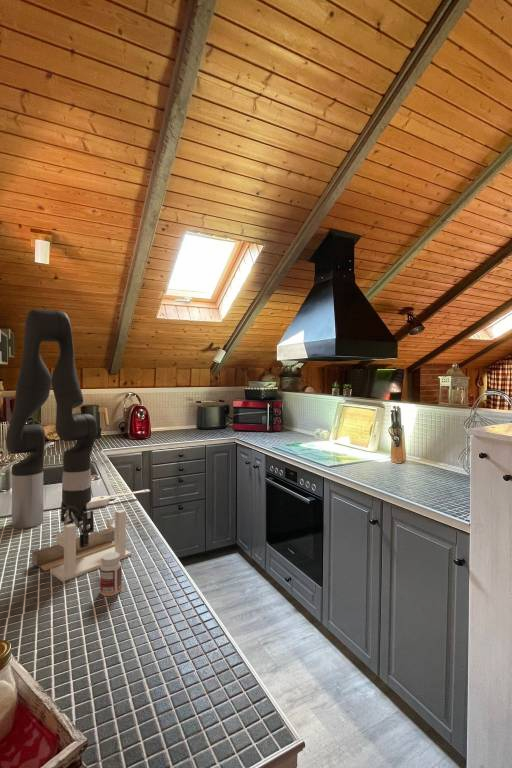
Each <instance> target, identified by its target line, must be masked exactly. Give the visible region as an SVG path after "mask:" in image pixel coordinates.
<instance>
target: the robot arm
mask: <svg viewBox="0 0 512 768" xmlns="http://www.w3.org/2000/svg"><path fill="white" fill-rule="evenodd" d="M23 333H24V334H23V345H22V346H23V347H22V357H21V363H20V369H19V374H18V378H17V383H16V389H15V396H14V401H13V402H14V403H13V409H12V414H11V417H10V420H9V424H8V428H7V432H6V435H5V436H6V437H5V447H6V450H7V452H8V453H10V454H13V455H15V454H17V455H18V454H19V455H20V454H28V453H30V454H28V456H27V457H25V459H22V460H21V461H19V462H16V463H15V464H13V465H12V467H11V527H13V529H28V528H32V527H36V526H39V525H41V524H42V523H43V522H44V465H45V445H46V432H45V428H44V426H43V425H41V424H38V423H36V424H26V423H28V422H27V421H28V420H29V419H30V418H31V416H33V415H34V414H35V413H36V412H38V410H40V408H41V407H42V406H43V405H44V404H45V402H47V400H48V399H49V396H50V393H51V392H50V391H51V389H52V392H53V395H54V399H55V402H56V410H55V411H56V416H55V417H56V418H55V432H56V434H57V436H58V437H59V439H60V440H62V441H63V442H73V441H76V443H75V445H73V446H72V447H70V448H68V449H65V451H64V452H63V455H62V456H63V457H62V461H63V462H62V464H63V465H62V475H61V476H62V478H61V504H60V506H61V507H60V522H61V523H63V525H68V524H71V523H72V524H74V525H76V529H77V528H78V529H77V530H78V533H79V538H80V547H81V548H84V547H87V546H88V545H89V534H92V533H94V532H95V531H94V530H95V529H94V525H95V523H94V511H93V510H92V509H91V510H88V509H87V507H86V505H87V503H88V502H90V501H91V498H92V472H91V455H92V451H93V447H94V444H95V440H96V437H97V432H98V424H97V420H96V418H95V416H94V415H92V414H89V413H81V414H73V409H76V408H78V407H80V406H81V405H83V403H84V396H83V393H82V389H81V386H80V381H79V378H78V373H77V368H76V359H75V347H74V339H73V329H72V324H71V320H70V318H69V316H68V315H67V313H66V312H64V311H62V310H53V309H40V308H39V309H30V310H29V311H28V313H27V315H26V317H25V323H24V332H23ZM42 342H43V343H44V342H45V343H50V342H51V343H55V342H56V343H57V345H58V347H59V356H58V359H57V361H56V364H55V366H54V369H53V371H52V375H51V372H50V370H49V368H48V367H47V365H46V363H45V362H44V360H43V358H42V356H41V354H40V353H41V352H40V348H41V343H42Z"/></svg>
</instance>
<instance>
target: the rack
mask: <svg viewBox="0 0 512 768" xmlns="http://www.w3.org/2000/svg"><path fill="white" fill-rule="evenodd" d="M114 514H115V515H114V518H113V517H110V518H106V529H111V530H113V531H115V541H114V543H115V546H113V547H110V548H108V549H105V550H102V551H99V552H96V553H93V554H91V555H88V556H85V557H82V558H79V559H76V538H77V527H76V525H75V523H73V524H72V523H71V524H68V525H64V524H63V525H64V526H63V528H64V529H63V531H62V532H57V533H56V545H57V544H59V545H61V546H62V547H64V564H62V565H59V566H57V567H54V568H51V569H49V573H50V574H51V575H52V576H54V577H55V578H57V579H58V580H59V581H61V582H62V583H63V582H66V581H69V580H71V579H75V578H76V577H79V576H81V575H84V574H87V573H89V572H92V571H94V570H97V569H100V566H101V564H102V556H103V555H104V554H106V553H110V552H117V553H119V554H120V561H121V560H123V559H126V558H128V557H131V556H132V552H131V551H129V550H127V549H126V546H127V545H126V543H127V542H126V541H127V540H126V532H127V530H126V528H127V526H126V525H127V519H126V514H127V512H126V510H124V509H122V508H121V509H118V510H115V513H114ZM114 520H115V521H114Z"/></svg>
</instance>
